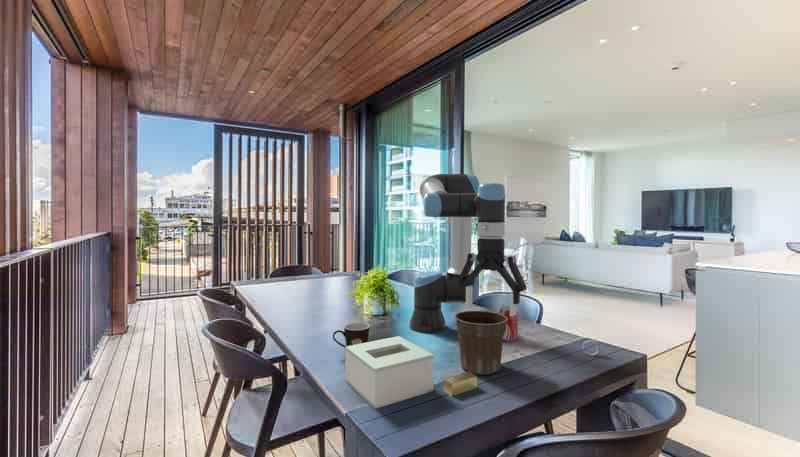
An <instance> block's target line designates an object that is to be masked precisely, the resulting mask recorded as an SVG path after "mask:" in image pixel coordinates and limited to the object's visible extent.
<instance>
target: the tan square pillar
mask: <svg viewBox="0 0 800 457" xmlns="http://www.w3.org/2000/svg"><path fill="white" fill-rule="evenodd" d="M442 384H443V392H444V393H446V394H448V395H449V396H451V397H453V396H456V395H459V394H463V393H465V392H468V391H471V390H474V389H477V388H478V376H477V374H473V373H470V372H468V371H465V372H462V373H459V374H456V375H452V376H449V377H445V378H443V383H442Z"/></svg>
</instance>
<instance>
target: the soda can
mask: <svg viewBox="0 0 800 457" xmlns="http://www.w3.org/2000/svg"><path fill="white" fill-rule="evenodd" d="M498 313H499V314H502V315H504V316H506V317H507V322H506V326H505V332H504V335H503V341H506V342H514V341H515V340H517V339H518V333H519V332H518V330H519V329H518V328H519V327H518V323H519V322H518V321H519V317H518V316H519V314H518V311H517V310H516V315H515V316H513V317H512V316H510V305H509V306H508V305H507V306H501V307H500V309H499V311H498Z"/></svg>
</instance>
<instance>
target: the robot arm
mask: <svg viewBox="0 0 800 457" xmlns="http://www.w3.org/2000/svg"><path fill="white" fill-rule="evenodd" d="M505 187H506V186H505V185H504V184H502V183H496V182H495V183H491V182H490V183H480V182H479V178H478V177H477V175H475V174H473V173H472V174H471V173H438V174H434V175H430V176H428V177H427V178H425V179H424V180H423V181H422V182H421V184H420V187H419V193H420V196H421V198H422V199H423V215H424V216H425V217H428V218H429V217H430V218H450V259H449V260H450V266H449V267H448V268H447V270H446V274H444V275H443V273H442V272H441V271H424V272H421V273H418V274H416V275H415V276H414V279H413V310H412V314H411V317H410V320H409V328H410V329H411V330H413V331H415V332H420V333H439V332H442V331H444V330H445V329H446V321H445V317H444V314H443V311H442V310H443V309H442V304H465V309H466V310H469V309H471V308H473V303H474V302H475V301H476V298H478V294H479V286H480V285H479V284H480V283H479V277H478V276H479V275H480V274H481V272H482V271H493V272H497V273H499V274H500V276H501V277H502V278H503V280H504V281H505V283H506V284H507V285H508V287H509V288H510V290H512V291H510V292H509V307H510V316H512V317H513V316H515V315H516V311H517V305H518V304H520V302H521V300H520V298H521V292H525V291H526V290H527V289H528V287H527V284H526V281H525V280H524V278H523V276H522V273H521V272H520V269H519V267H518V264H517V259H516V256H515V255H509V256H506V255H505V239H504V237H505V235H506V234H505V232H506V231H505V227H506V226H505V222H506V221H505V218H506V211H505V210H506V188H505ZM473 218H477V237H478V239H477V240H476V241H477V242H476V243H477V254H475V253H474V252H472V227H473V226H472V224H473V223H472V222H473ZM476 260H477V262H478V263H477V264H476V266H475V267H474V269H472V267H473V265H474V262H475V261H476ZM505 262H506V265H508V268H509V270H510V272H511V274H512V275H511V274H510V273H509V271H508V270H507V267H506V266H505V265H504V263H505ZM512 276H513V277H512Z"/></svg>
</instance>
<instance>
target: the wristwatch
mask: <svg viewBox="0 0 800 457" xmlns="http://www.w3.org/2000/svg"><path fill="white" fill-rule="evenodd" d="M590 342H591V343H595V344H596V351H595V352H594V353H589V352H587V351H585V349H586V347H585V345H586V344H587V343H590ZM582 350H583V352H584V353H585V354H586V355H588V356H592V357H593V356H597V355H598V353H600V351H601V350H600V345H599V343H598V342H597V341H596V340H593V339H587V340H585V341H583V342H582Z"/></svg>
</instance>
